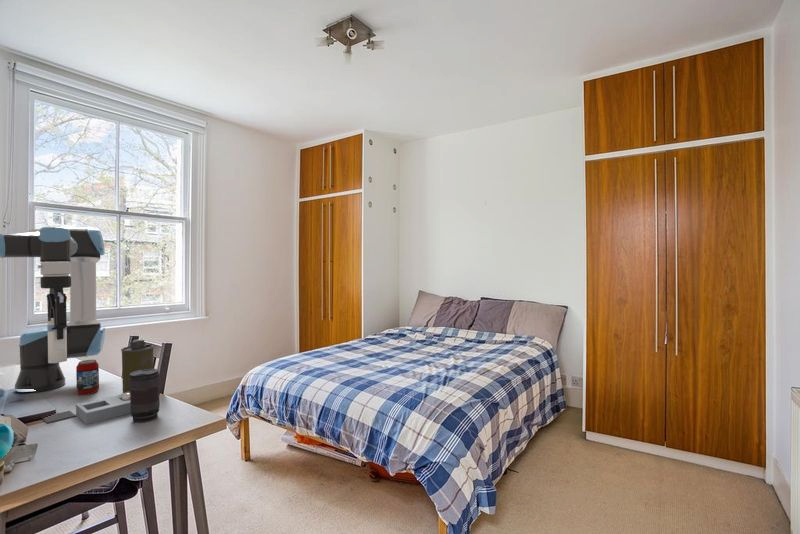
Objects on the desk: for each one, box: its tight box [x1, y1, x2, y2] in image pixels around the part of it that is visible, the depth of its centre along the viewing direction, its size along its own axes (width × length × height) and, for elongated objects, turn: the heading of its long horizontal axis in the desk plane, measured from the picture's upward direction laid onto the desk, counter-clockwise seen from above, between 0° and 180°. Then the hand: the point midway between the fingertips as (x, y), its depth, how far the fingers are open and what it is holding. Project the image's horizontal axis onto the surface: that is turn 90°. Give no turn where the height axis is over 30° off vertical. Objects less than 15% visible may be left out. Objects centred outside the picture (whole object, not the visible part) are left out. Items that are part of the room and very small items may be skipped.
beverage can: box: [75, 359, 100, 396], centre depth 155 cm, size 7×7×12 cm
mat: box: [42, 410, 77, 424], centre depth 130 cm, size 7×7×1 cm
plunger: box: [121, 392, 130, 401], centre depth 138 cm, size 4×4×4 cm
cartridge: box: [46, 318, 68, 364], centre depth 130 cm, size 5×5×14 cm
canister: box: [120, 339, 155, 394], centre depth 154 cm, size 11×10×20 cm
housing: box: [75, 393, 131, 425], centre depth 134 cm, size 12×16×4 cm
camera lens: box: [129, 368, 161, 423], centre depth 129 cm, size 8×8×15 cm
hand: (57, 348), depth 130 cm, fingers closed on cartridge, 5 cm apart
